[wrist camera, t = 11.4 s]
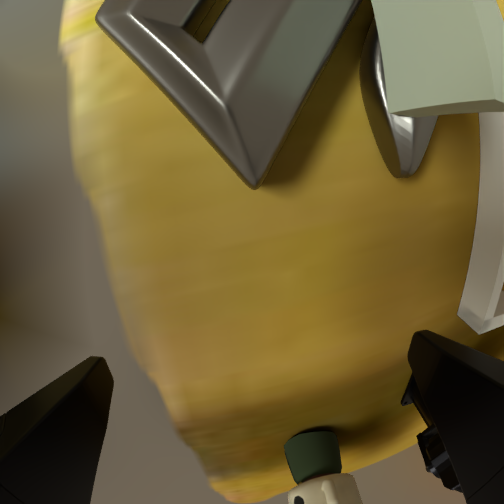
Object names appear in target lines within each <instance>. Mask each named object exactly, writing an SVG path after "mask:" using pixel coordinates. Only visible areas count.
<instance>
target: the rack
mask: <svg viewBox="0 0 504 504" xmlns="http://www.w3.org/2000/svg"><path fill="white" fill-rule="evenodd" d="M479 125H480V184H479V198H478V209H477V219H476V227H475V234H474V240H473V247H472V252H471V258H470V263H469V268H468V273H467V277H466V282H465V286H464V290H463V294H462V298H461V302H460V305H459V309H458V312H457V315H458V316H459V317H460V318H461V319H462V320H463V321H465V322H466V323H467V324H468V325H469V326H470V327H471V328H472V329H473V330H474V331H476V332H477V333H478V334H482V333H485V332H487V331H490V330H493V329H495V328H498V327H500V326H502V325H504V291H501V290H502V286H503V282H504V112H480V113H479Z"/></svg>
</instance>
